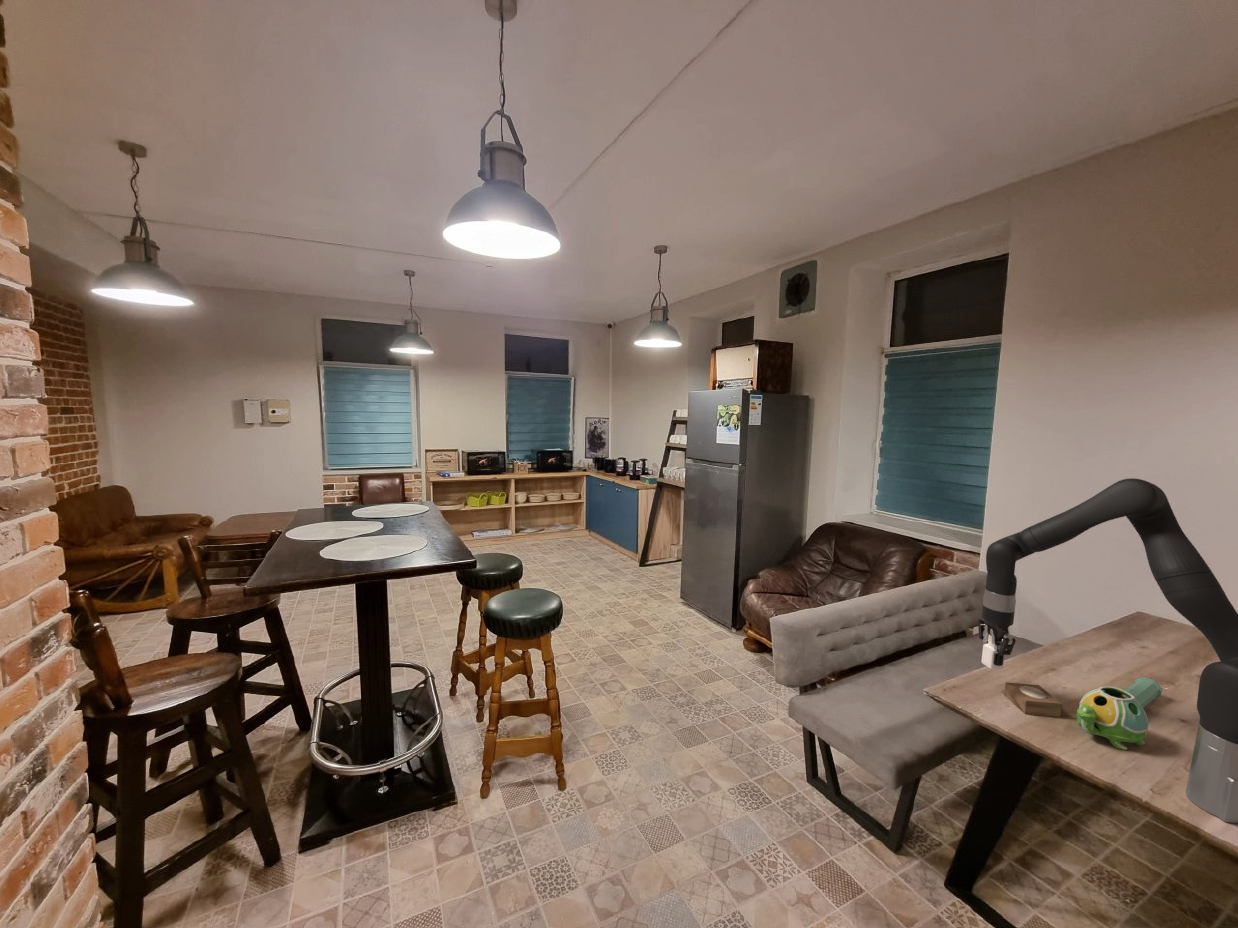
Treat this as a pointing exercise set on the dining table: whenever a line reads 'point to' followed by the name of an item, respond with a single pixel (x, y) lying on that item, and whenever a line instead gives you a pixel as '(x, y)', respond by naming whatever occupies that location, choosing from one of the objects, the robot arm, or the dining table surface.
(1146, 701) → the container
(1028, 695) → the base
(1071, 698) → the dining table surface
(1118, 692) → the turtle holder
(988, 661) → the salt shaker
